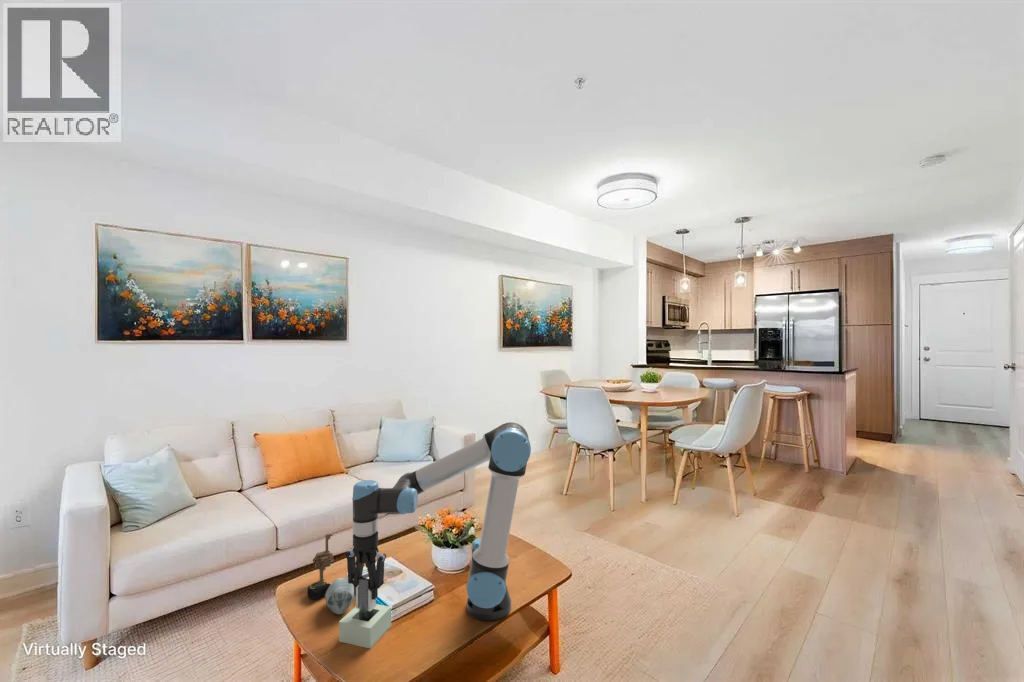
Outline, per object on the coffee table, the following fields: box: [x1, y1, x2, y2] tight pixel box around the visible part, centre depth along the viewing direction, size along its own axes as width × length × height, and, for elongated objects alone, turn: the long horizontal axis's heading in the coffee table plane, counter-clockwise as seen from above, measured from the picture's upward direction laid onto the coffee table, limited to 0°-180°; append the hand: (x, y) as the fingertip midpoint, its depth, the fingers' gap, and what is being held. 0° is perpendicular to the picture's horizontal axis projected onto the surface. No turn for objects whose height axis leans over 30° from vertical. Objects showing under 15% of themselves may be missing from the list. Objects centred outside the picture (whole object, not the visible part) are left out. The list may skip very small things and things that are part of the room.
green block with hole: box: [338, 603, 392, 650], centre depth 137 cm, size 11×11×6 cm
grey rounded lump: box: [324, 577, 355, 615], centre depth 150 cm, size 14×10×10 cm
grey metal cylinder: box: [359, 573, 373, 622], centre depth 137 cm, size 4×4×15 cm
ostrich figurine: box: [282, 533, 334, 593], centre depth 163 cm, size 17×7×18 cm, turn 121°
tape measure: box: [307, 580, 332, 600], centre depth 157 cm, size 7×7×4 cm
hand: (365, 607), depth 137 cm, fingers closed on grey metal cylinder, 4 cm apart
